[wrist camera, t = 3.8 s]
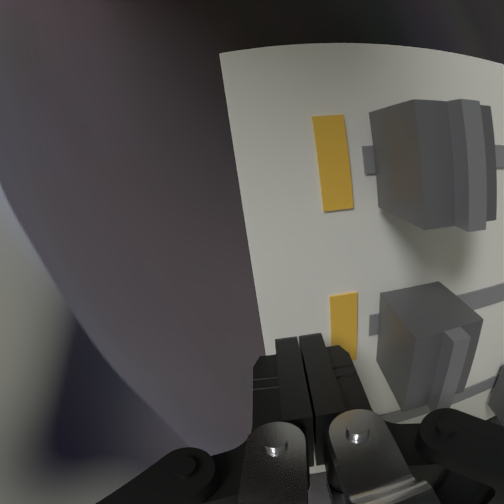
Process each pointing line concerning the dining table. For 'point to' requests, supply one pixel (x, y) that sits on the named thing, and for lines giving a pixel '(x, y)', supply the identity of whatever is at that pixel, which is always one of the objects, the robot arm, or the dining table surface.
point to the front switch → (436, 163)
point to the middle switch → (426, 344)
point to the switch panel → (355, 202)
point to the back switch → (498, 397)
